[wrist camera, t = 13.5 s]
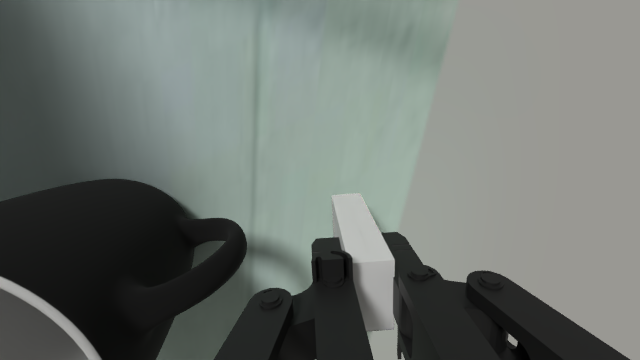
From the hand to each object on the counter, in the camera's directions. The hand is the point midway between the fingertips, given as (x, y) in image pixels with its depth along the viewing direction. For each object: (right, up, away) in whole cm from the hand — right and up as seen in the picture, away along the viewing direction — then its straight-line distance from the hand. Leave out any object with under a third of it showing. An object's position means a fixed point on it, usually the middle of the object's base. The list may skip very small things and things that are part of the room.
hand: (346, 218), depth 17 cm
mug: (-11, -1, +2) cm, 11 cm away
